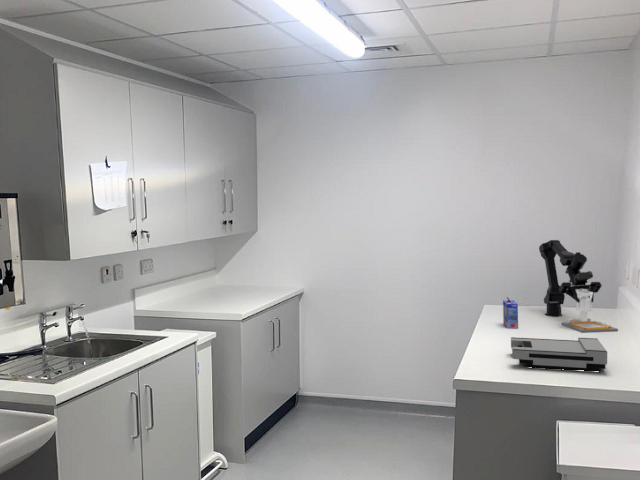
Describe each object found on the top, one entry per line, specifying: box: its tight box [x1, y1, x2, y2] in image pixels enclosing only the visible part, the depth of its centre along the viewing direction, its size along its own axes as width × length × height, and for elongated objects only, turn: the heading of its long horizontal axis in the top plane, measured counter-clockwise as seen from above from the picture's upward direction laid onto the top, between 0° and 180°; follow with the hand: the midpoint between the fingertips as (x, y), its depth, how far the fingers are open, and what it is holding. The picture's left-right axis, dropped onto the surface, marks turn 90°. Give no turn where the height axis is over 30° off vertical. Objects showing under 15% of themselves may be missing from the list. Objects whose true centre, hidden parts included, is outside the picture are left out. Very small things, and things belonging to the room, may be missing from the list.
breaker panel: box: [561, 317, 619, 334], centre depth 281 cm, size 18×18×3 cm
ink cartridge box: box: [502, 296, 519, 329], centre depth 286 cm, size 10×6×14 cm, turn 174°
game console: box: [510, 337, 608, 371], centre depth 222 cm, size 21×32×8 cm, turn 74°
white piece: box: [575, 288, 593, 321], centre depth 278 cm, size 7×7×15 cm
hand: (585, 301), depth 277 cm, fingers closed on white piece, 6 cm apart
